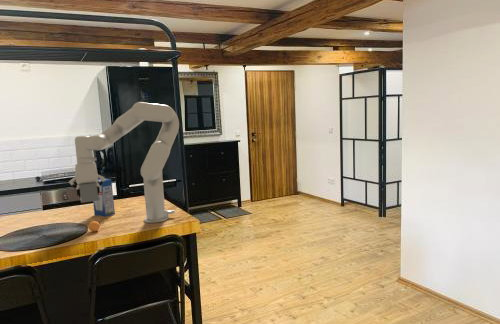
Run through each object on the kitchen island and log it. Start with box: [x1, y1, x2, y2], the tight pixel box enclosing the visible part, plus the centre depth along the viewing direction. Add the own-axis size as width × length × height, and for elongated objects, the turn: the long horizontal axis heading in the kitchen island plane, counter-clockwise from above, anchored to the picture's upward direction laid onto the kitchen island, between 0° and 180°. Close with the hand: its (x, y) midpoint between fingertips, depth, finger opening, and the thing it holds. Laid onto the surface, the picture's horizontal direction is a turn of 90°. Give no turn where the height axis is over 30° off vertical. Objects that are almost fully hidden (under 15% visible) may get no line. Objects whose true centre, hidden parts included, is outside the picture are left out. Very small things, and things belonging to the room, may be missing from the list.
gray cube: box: [79, 183, 98, 204], centre depth 182 cm, size 8×8×9 cm
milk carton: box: [92, 178, 116, 218], centre depth 205 cm, size 10×6×20 cm, turn 57°
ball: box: [88, 220, 101, 233], centre depth 175 cm, size 5×5×5 cm
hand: (88, 195), depth 182 cm, fingers closed on gray cube, 7 cm apart
